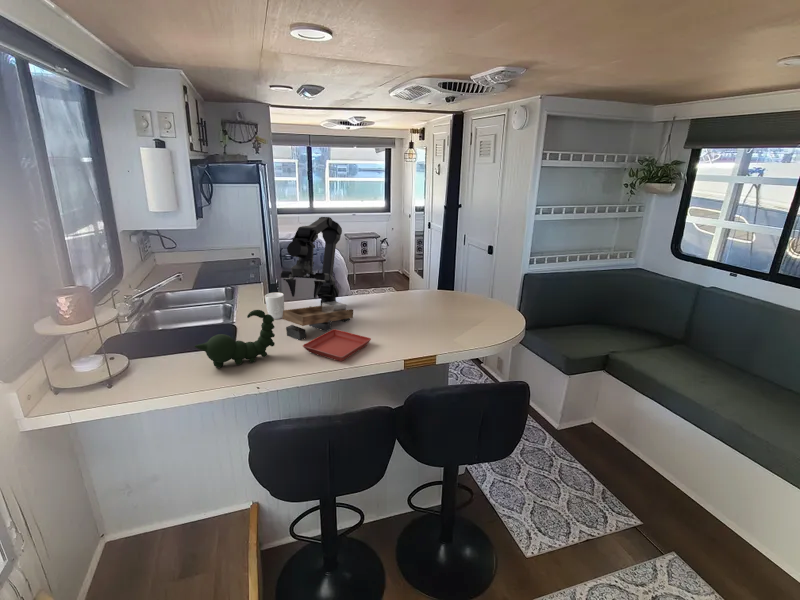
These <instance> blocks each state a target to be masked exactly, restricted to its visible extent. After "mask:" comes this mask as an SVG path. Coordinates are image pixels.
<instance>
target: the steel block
mask: <svg viewBox="0 0 800 600" xmlns="http://www.w3.org/2000/svg"><path fill="white" fill-rule="evenodd" d="M342 310H347V304H346V303H342V302H339V301H337V300H336V301H332V302H323V303H322V312H324V313H327V312H335V311H342Z"/></svg>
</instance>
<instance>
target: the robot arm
mask: <svg viewBox="0 0 800 600" xmlns="http://www.w3.org/2000/svg"><path fill="white" fill-rule="evenodd" d="M320 233H322V239H323V241H324V251H323V261H322V262H323V263H322V269H321V271H322V272H316V273H315V274H314V270H313V268H314V264H315V261H314V249H316V245H315V244H314V242H316V240H317V239H318V238H319V235H318V234H320ZM342 233H343V230H342V227H341V225H340V224H339V223H338V222H337V221H335V220H333V218H332V217H330V216H320V217H319V218H318V219H316V220H315V221H314V222H312V223H311V224H309V225H302V226H299V227H298V228H297V229H296V232H295V234H294V237H293V238H292V241H291V242H290V243H288V246H287V247H286V251H287V253H288V255H289V256H290V257H293V258H298V259H297V260H296V264H295V265H293V266H291V267H290V269H291V271H290V270H282V271H281V272H280V273H279V274H280V275H279V277H280V279H282V278H283V281H285V282H286V283H287V285H288V287H289V291H290V293H291V297H295V294H296V285H297V284H296V283H297V279H295V278H298V279H299V278H300V279H315V280H313V282H314V283H313V284H314V289H313V298H314V299H316V298H317V297H318V298H319V297H320V306H322V303H323V302H332V301H336V302H337V298H339V295H340V290H339V288H338V287H337V286H336V280H335V278H334V276H333V274H334V267H335V258H336V257H335V256H336V246H337V244H338V243H339V241H340V240H341V235H342Z"/></svg>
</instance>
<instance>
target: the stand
mask: <svg viewBox="0 0 800 600" xmlns="http://www.w3.org/2000/svg"><path fill="white" fill-rule="evenodd" d="M350 320H351V318H348V319H342V320H339V321H341V322H343V323H346V322H348V321H350ZM331 323H332V322H331ZM331 323H327V322H323V323H317V324H311V325H308V326H309V327H311V326H312V328H314V327H315V329H317V328H318V329H317V330H320V329H321V330H320V331H323V332H328V331H331V330H332V325H331ZM285 329H286V336H287V337H290V338H292V339H295V340H297V339H298V340H297V341H302V339H303V340H305V339H307V331H306V329H305V328H303V327H299V326H297V325H294V324H291V325H288V326H286V328H285ZM327 330H328V331H327ZM304 338H305V339H304Z"/></svg>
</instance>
